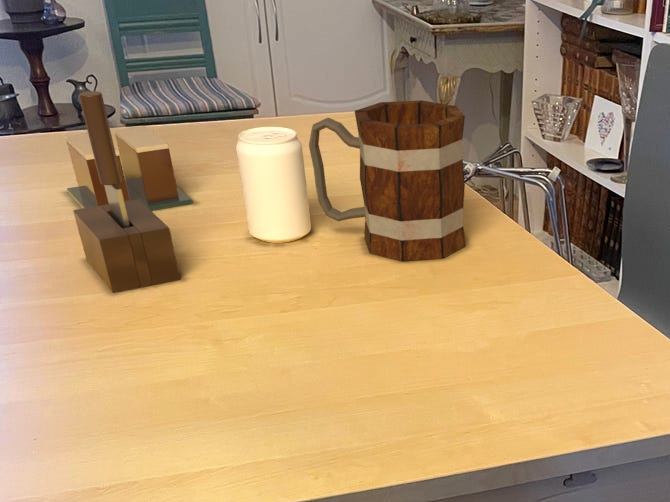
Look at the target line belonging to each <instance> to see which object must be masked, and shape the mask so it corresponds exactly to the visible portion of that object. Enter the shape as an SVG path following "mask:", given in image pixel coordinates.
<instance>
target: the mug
mask: <svg viewBox="0 0 670 502" xmlns="http://www.w3.org/2000/svg"><path fill="white" fill-rule="evenodd" d="M354 116H355V122H356V127H357V133H358V136H354V135H353V134H352V133H351V132H350V131H349V130H348V129H347V127H345V125H344V124H342V122H339V121H337V120H335V119H333V118H330V117H326V118H324V119H321V120H319V121H318V122H315V123H313V124H312V126H311V131H310V135H309V136H310V137H309V142H308V148H309V153H310V157H311V163H312V167H313V176H314V182H315V183H314V184H315V189H316V196H317V201H318V204H319V205H320V207H321V209H322V211H323V213H324V215H325V216H326V217H328V218H330V219H333V220H334V221H336V222H343V221H346V220H352V219H360V218H364V238H363V239H364V242H365V245H366V248H367V250H368V253H369V254H371V255H375V256H380V257H383V258H387V259H391V260H394V261H399V262H412V261H414V262H416V261H427V260H428V261H429V260H441V259H445V258H446V257H449V256H451V255H452V254H455V253H456V252H458V251H460V250H462V249H463V248H465V247H466V238H465V237H466V236H465V228H464V204H465V203H464V201H465V188H466V181H465V171H464V169H465V168H464V159H463V158H464V157H463V154H464V152H463V140H464V139H463V138H464V130H465V129H464V128H465V127H464V126H465V119H466V116H465V114H464V113H463V112H462V110H460V109H459V107H458V106H457V105H452V104H446V103H440V102H435V101H427V100H419V99H418V100H400V101H381V102H377V103H374V104H371V105H368V106H365V107H361V108H359V109H355V110H354ZM324 129H327V130H329V131H332V132H333V133H335V134H336V135H337V137H338V138H339V139H340V140H341V141H342V142H343V143H344V144H345V145H346V146H347V147H350V148H354V149H359V181H360V187H361V193H362V199H363V206H361V207H352V208H348V209H346V210H342V211H341V210H338V209H336V208H334V207H333V206H332V204H331V201H330V199H329V197H328V192H327V185H326V176H325V165H324V161H323V158H322V157H323V156H322V154H321V153H322V152H321V149H320V145H319V144H320V133H321V131H322V130H324Z"/></svg>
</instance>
